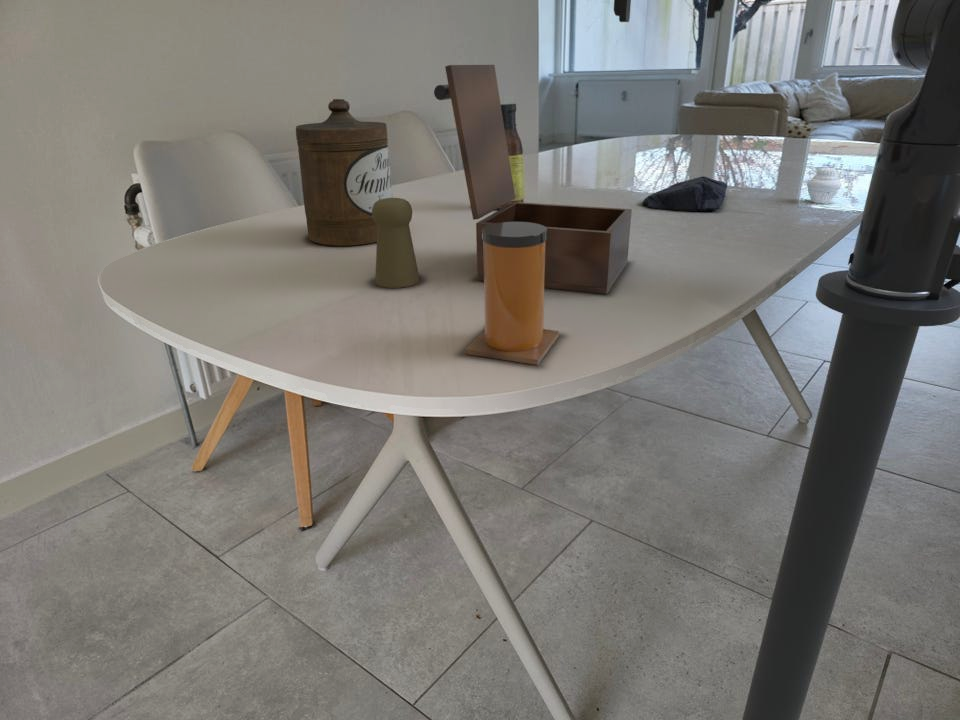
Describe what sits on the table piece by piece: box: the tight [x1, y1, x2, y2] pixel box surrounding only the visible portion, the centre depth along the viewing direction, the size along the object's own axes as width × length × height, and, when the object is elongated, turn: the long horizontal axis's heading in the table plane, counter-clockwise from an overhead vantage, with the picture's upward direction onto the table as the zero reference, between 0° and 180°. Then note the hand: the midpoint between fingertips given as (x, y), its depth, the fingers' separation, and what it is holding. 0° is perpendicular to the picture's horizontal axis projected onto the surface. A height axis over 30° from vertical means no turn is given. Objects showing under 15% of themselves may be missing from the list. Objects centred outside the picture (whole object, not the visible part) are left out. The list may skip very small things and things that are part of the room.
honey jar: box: [482, 222, 547, 351], centre depth 61 cm, size 6×6×12 cm
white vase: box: [806, 166, 842, 205], centre depth 125 cm, size 6×6×7 cm
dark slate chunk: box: [642, 175, 728, 212], centre depth 129 cm, size 15×22×5 cm
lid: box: [433, 64, 515, 221], centre depth 84 cm, size 18×15×5 cm
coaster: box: [465, 328, 560, 366], centre depth 64 cm, size 8×8×1 cm
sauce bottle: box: [496, 102, 525, 210], centre depth 123 cm, size 6×6×20 cm
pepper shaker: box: [372, 197, 420, 289], centre depth 82 cm, size 6×6×11 cm
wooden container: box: [295, 98, 394, 247], centre depth 103 cm, size 15×15×22 cm
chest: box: [475, 202, 633, 295], centre depth 85 cm, size 18×15×8 cm
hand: (666, 20), depth 63 cm, fingers open, 8 cm apart
